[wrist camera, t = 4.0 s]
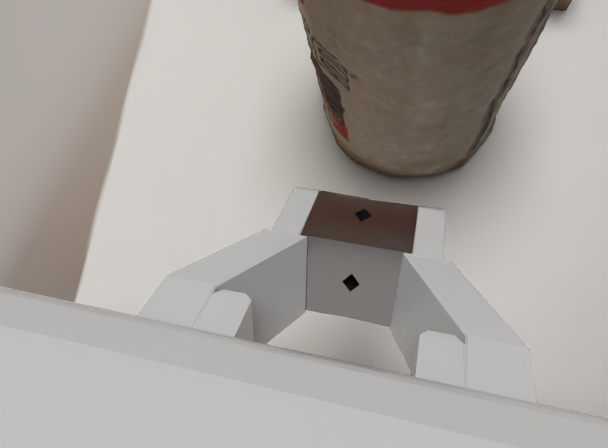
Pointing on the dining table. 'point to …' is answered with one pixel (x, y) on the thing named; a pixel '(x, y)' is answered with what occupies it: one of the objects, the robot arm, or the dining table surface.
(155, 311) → the robot arm
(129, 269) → the dining table surface
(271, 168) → the dining table surface
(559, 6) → the walnut trough
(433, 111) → the spray can
